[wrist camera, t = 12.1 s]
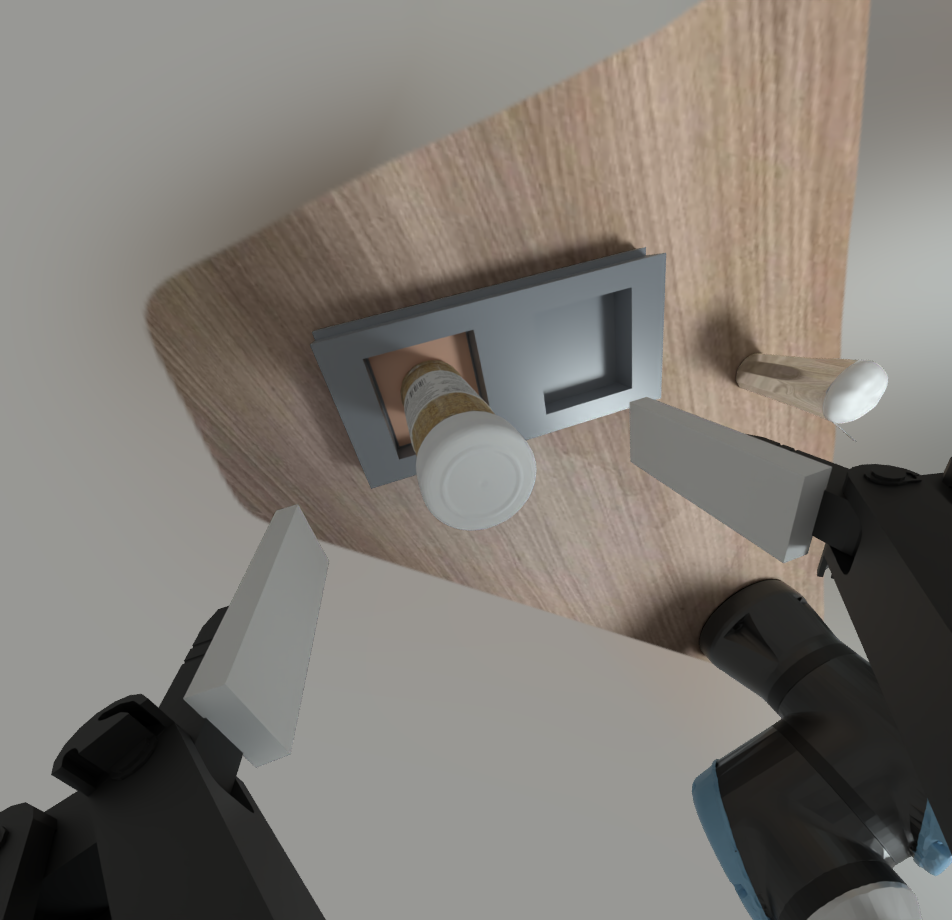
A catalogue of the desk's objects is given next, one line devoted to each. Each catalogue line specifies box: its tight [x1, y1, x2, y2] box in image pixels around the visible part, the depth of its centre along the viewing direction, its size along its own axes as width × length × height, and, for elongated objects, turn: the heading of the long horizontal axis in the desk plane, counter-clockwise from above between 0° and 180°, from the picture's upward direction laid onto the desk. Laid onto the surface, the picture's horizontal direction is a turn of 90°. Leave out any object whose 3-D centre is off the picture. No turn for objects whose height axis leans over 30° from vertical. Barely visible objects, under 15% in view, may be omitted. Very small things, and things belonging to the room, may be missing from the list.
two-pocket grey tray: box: [310, 247, 666, 489], centre depth 25 cm, size 11×23×3 cm, turn 103°
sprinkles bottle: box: [400, 360, 536, 530], centre depth 19 cm, size 5×5×13 cm
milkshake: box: [736, 353, 888, 442], centre depth 28 cm, size 4×5×10 cm
